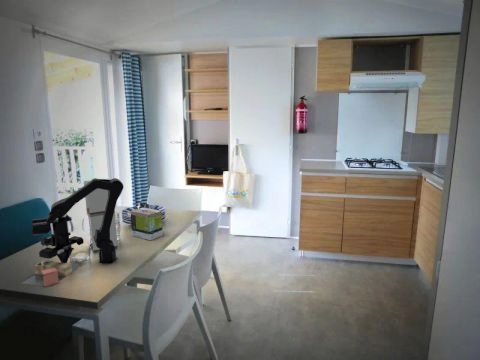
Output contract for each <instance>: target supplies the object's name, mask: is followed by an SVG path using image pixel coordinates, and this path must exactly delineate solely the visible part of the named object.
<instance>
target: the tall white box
mask: <svg viewBox="0 0 480 360" xmlns="http://www.w3.org/2000/svg"><path fill="white" fill-rule="evenodd" d="M91 180H92V179H91ZM91 180H83V186H85V185H86V184H87V183H89V182H90V181H91ZM107 199H108V190H104V189H96V190H94V191H93V192H91V193H90V194H89V195H87V196H86V197H84V200H85V207H86V215H87V217H88V218H89V219H90V220H89V221H90V232H91V241H92V243H91V248H90V250H91V251H92V253H93V254H97V253H98V254H99V252H100V249H99V248H98V247H97V246H96V243H95V241H94V236H95V230H96V229H97V230H99V229H100V227H101V224H102V220H103V216H104V211H105V207H106V203H107ZM116 222H117V221H116V209H115V210H114V215H113V219H112V223H111V227H110V240H112V241H113V244H114V246H115V250H116V251H117V250H118V248H119V247H118V234H117V223H116Z"/></svg>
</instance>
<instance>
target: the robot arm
mask: <svg viewBox="0 0 480 360" xmlns="http://www.w3.org/2000/svg"><path fill="white" fill-rule="evenodd" d="M96 189H104V190H108V199H107V203H106V207H105V211H104V216H103V220H102V224H101V227H100V229H99V230H97V229H96V230H95V236H94V241H95V243H96V246H97V247H98V248H99V249H100V252H98V258H99V264H107V265H112V264H113V263H114V262H116V261H117V260H118V259H119V257H117V252H116V251H117V250H115V246H114V244H113V241H112V240H110V227H111V223H112V219H113V215H114V210H115V211H116V206H117V202H118V199H119V198H120V196H121V194H122V193H123V190H124V184H123V182H122V181H121V180H120V179H119V178H112V179H111V178H110V179H109V178H92V179H91V181H90V182H89V183H87V184H86V185H85V186H84V185H83V186H82V187H80V188H79V189H78V190H76V191H74V192H73V193H72V194H71V195H69V196H67V197H65V198H63V199H62V198H61V199H60V200H58V201H55V202H54V203H52V205H51V206H50V212H49V213H48V214H47V216H46V217H43V218H42V217H41V218H33V219H32V220H31V224H32V225H31V226H32V228H31V230H32V236H39V235H46V234H47V235H48V234H49V233H50V232H52V231H51V223H52V225H53V234H52V233H51V235H50V237H42V238H40V245H41V246H44V247H45V248H43V249H41V250H39V252H38V255H39V258H44V259H48V260H49V259H53V258H54V257H56V256H57V258H58V260H59V261H60V262H61V263H68V261H69V258H70V257H71V254H72V252H73V251H74V249H75V248H74V247H73V246H72V245H75V244H76V245H78V246H81V245H83V244H84V243H85V241H84V238H83V237H81V236H75V235H74V236H71V232H70V231H69V232H68V228H69V223H68V224H67V221H68V222H71V221H72V220H73V219H72V217H71V216H69V214H68V212H69V211H71V209H72V208H73V207H74V206H75V205H76V204H78V203H79V202H80V201H82V200H83V199H85V197H86V196H87V195H89V194H90V193H91V192H93V191H94V190H96ZM66 213H67V215H66V216H65V217H63V216H64V215H65V214H66ZM57 218H58V219H57ZM69 237H70V238H69ZM49 246H51V247H49Z"/></svg>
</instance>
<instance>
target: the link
mask: <svg viewBox="0 0 480 360" xmlns="http://www.w3.org/2000/svg"><path fill="white" fill-rule="evenodd" d="M43 261H45V263H46V265H41V262H43ZM71 264H72V263H70V262H67V263H61V261H60V262H59V261H53V260H45V259H44V260H43V259H42V260H41V261H39V262H37V263H36V264H34V265H33V272H34V275H36V274H38V275H43V274H42V273H41V271H43V270H47V269H51V268H54V267H55V268H56V270H57V272H58V276H66V277H68V276H69V275H70V274H72V273H73V272H72V265H71ZM71 272H72V273H71Z"/></svg>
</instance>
